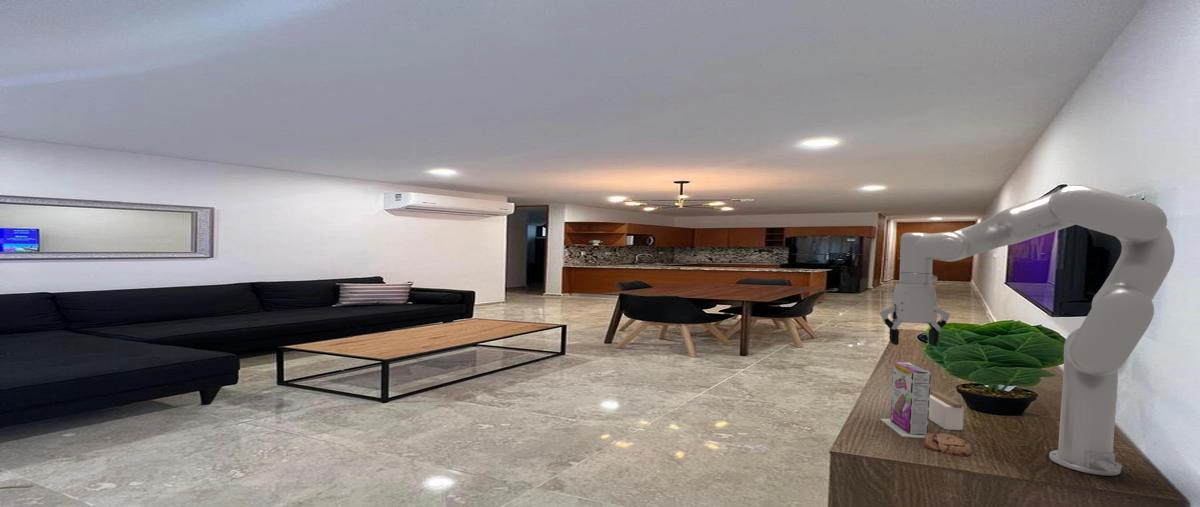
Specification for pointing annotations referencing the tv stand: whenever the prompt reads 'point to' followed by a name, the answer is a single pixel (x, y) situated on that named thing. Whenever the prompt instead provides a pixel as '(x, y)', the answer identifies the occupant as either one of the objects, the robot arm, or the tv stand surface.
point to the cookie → (947, 444)
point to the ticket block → (945, 411)
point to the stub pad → (900, 429)
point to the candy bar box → (910, 397)
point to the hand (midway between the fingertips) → (913, 344)
